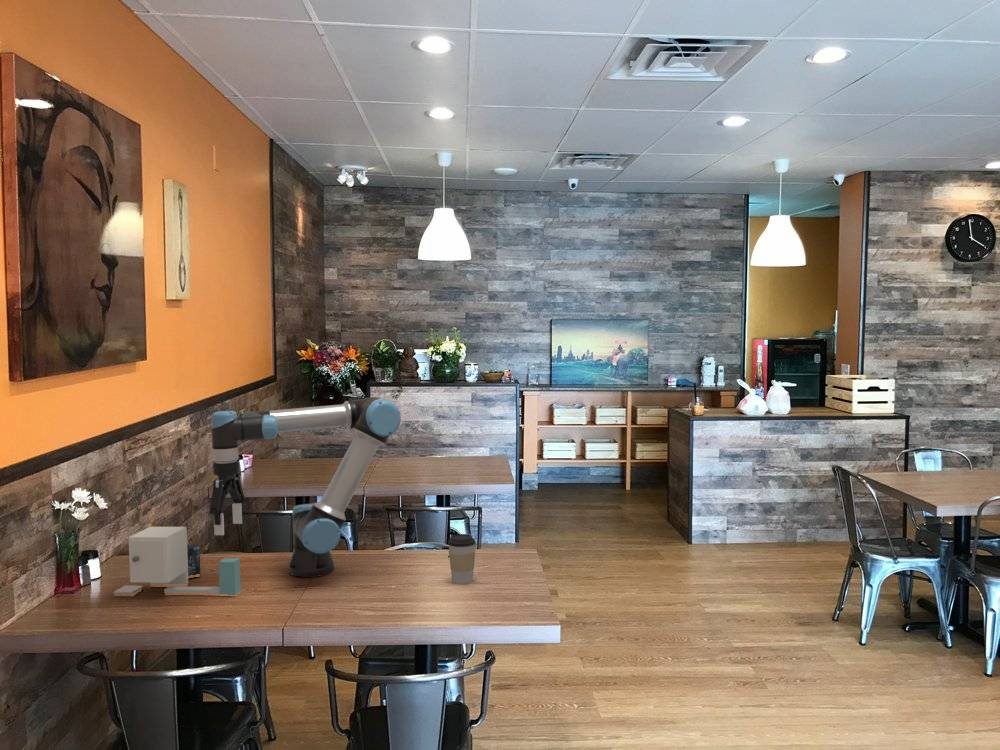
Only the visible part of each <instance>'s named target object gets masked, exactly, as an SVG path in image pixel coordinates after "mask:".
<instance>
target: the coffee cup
mask: <svg viewBox="0 0 1000 750" xmlns="http://www.w3.org/2000/svg"><path fill="white" fill-rule="evenodd" d="M476 543H477V542H476V539H475V538H473V536H472V535H470V534H467V533H466V534H465V533H458V534H452V535H451V537H450V538H449V539H448V542H447V545H448V556H449V566H450V574H451V582H452V583H453V584H455V585H469V584H471V583H473V580H474V569H475V561H476V560H475V559H476Z"/></svg>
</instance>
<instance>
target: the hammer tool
mask: <svg viewBox="0 0 1000 750" xmlns="http://www.w3.org/2000/svg"><path fill="white" fill-rule="evenodd" d="M240 563H241V559H240V558H239V557H237V558H235V557H231V558H229V557H225V558H222V559H221V560H220V561H218V574H219V575H218V580H219V581H218V583H219V586H189V587H184V586H169V587H167V588H163V591H164V593H210V594H227V595H236V594H237V593H238V592H240V591H241V589H242V588H241V584H242V583H241V564H240ZM241 592H242V591H241Z"/></svg>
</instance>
